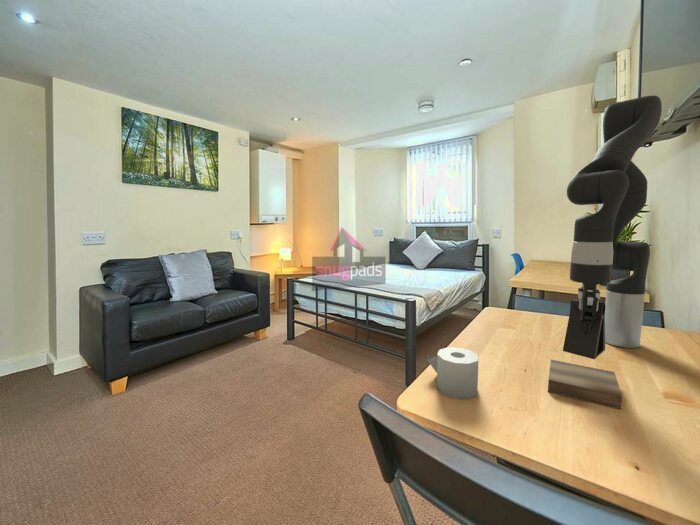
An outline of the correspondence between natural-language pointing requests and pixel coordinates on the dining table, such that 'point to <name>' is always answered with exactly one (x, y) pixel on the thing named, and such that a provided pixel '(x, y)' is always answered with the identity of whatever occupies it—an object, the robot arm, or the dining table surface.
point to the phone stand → (585, 343)
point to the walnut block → (585, 384)
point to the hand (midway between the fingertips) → (585, 333)
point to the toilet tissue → (456, 372)
